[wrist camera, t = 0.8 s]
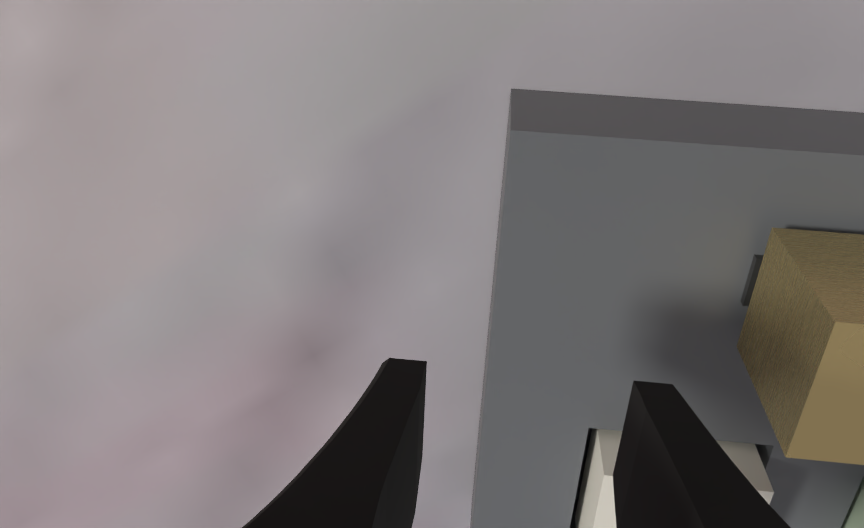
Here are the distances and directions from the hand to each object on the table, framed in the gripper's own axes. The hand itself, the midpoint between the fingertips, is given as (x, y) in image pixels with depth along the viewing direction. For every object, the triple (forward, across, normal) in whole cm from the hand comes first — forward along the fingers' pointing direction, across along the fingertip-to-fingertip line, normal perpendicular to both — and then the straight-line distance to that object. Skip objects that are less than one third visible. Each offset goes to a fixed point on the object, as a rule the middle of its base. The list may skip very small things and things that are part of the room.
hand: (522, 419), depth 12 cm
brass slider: (+5, -6, 0) cm, 8 cm away
